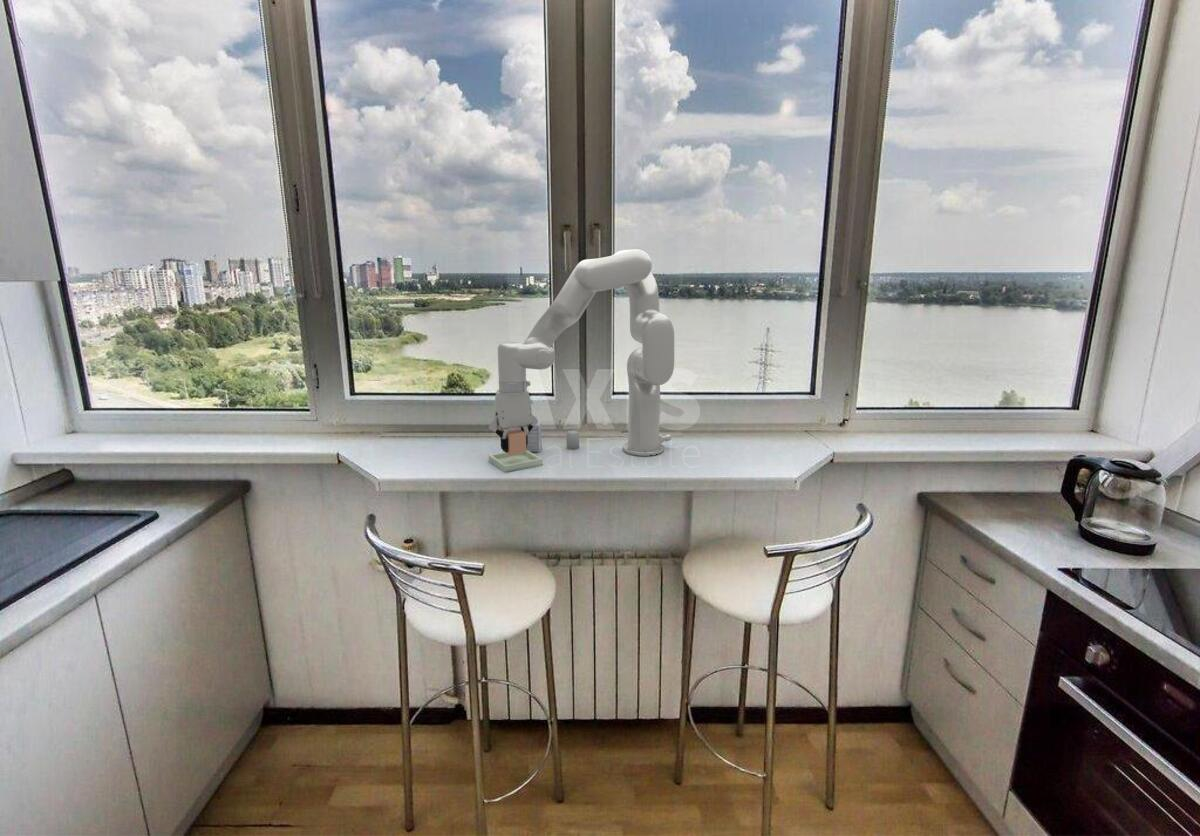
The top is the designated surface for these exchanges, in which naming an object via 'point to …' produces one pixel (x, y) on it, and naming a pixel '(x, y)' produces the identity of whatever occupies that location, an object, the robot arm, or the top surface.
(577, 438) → the grey tub
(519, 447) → the terracotta block
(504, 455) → the tray
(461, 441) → the top surface
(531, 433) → the medicine box
